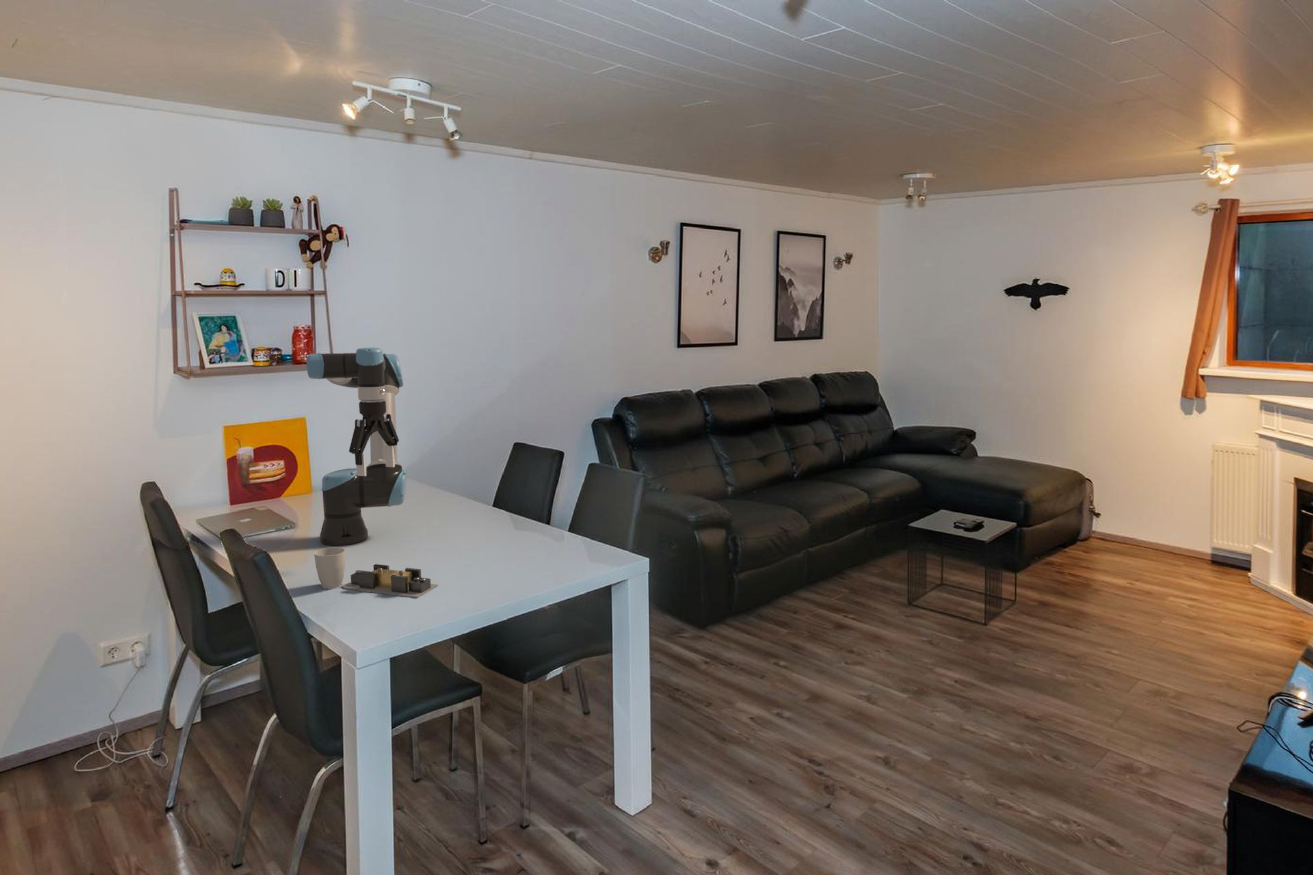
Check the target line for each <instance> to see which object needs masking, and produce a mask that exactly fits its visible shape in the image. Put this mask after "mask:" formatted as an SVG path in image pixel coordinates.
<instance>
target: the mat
mask: <svg viewBox="0 0 1313 875" xmlns="http://www.w3.org/2000/svg"><path fill="white" fill-rule="evenodd" d="M437 587H439V584H437V583H436V584H435V583H431V588H429V589H428V590H426V591H424V592H422V593H418V592H410V591H409V588H408V592H407V593H400V592H392V589H390V588H382V587H375V588H374V589H368V588H360V587H359V585H355V584H351V582H350V583H348V584H347V585H344V586H343V587H342V589H343V590H350V591H351V590H353V591H361V592H365V593H367V592H368V593H375V594H376V593H377V594H382V595H383V594H384V595H391V596H396V597H397V596H399V597H407V598H416V599H418V598H421V597H422V596H423V595H426V594H427V593H428V592H431V591H432V590H434V589H435V588H437Z"/></svg>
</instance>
